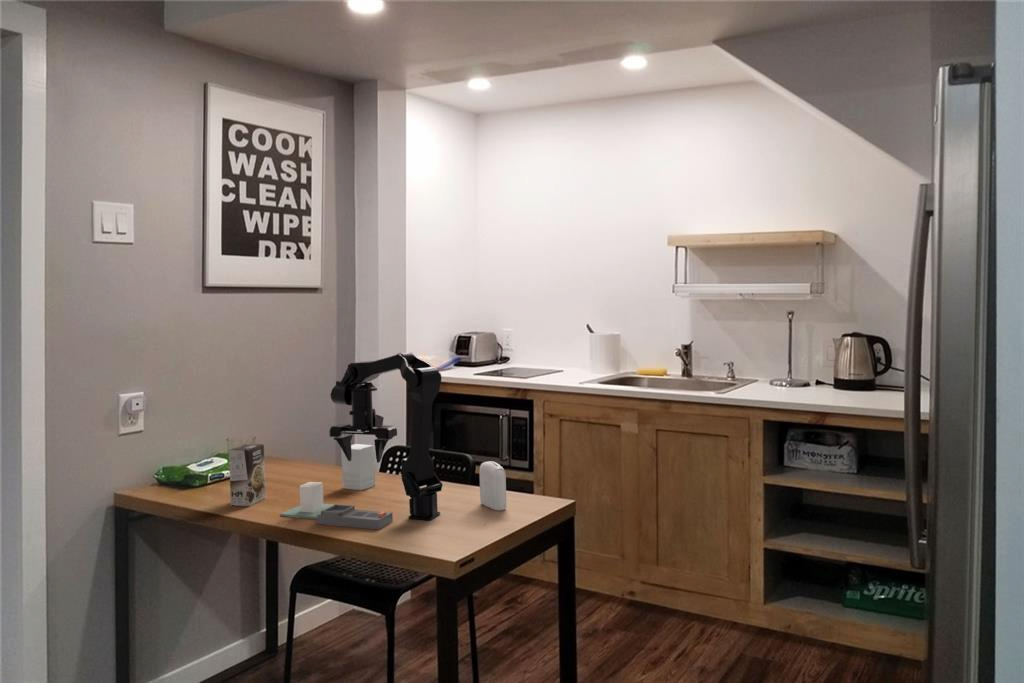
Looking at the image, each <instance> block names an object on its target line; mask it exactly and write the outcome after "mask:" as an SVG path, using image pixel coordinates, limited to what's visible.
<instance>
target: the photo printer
mask: <svg viewBox="0 0 1024 683" xmlns="http://www.w3.org/2000/svg"><path fill="white" fill-rule="evenodd" d="M478 470H479V471H478V472H479V498H480V503H481V505H483V506H485V507H487V508H489V509H492V510H494V511H504V510H506V509H507V482H506V481H507V478H506V471H505V469H504V468H503V466H501V465H500V464H499V463H497V462H496V461H493V460H492V461H491V460H490V461H489V460H488V461H484V462H482V463H481V464H480V466H479V469H478Z"/></svg>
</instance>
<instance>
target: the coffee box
mask: <svg viewBox="0 0 1024 683" xmlns="http://www.w3.org/2000/svg"><path fill="white" fill-rule="evenodd" d="M228 457H229V458H228V459H229V460H228V461H229V487H230V506H232V505H234V507H235V506H237V507H238V506H239V507H252V506H253V505H256V504H257V503H260V502H261V500H262V501H264V500H266V499H267V493H266V492H267V490H266V467H265V466H266V465H265V444H260V443H259V444H258V443H257V444H256V443H254V444H251V443H250V444H243V445H239V446H236V447H234V448H230V449H229V450H228ZM263 499H264V500H263ZM259 501H260V502H259Z"/></svg>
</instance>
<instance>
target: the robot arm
mask: <svg viewBox="0 0 1024 683" xmlns="http://www.w3.org/2000/svg"><path fill="white" fill-rule="evenodd" d="M396 370H397V371H398V370H399V371H400V375H401V378H402V379H403V380H405V382H407V384H408V386H407V387H408V392H409V394H410V395H409V396H410V397H411V399H412V400H413V403H412V404H413V407H412V421H411V422H412V423H411V436H410V451H409V455H408V457H405V458H402V459H401V463H400V464H401V468H400V469H401V470H400V474H399V475H401V481H402V484H403V488H404V491H405V496H407V497H410V499H409V503H408V504H409V515H408V519H413V520H424V521H425V520H426V521H431V520H433V519H435V518H436V517H438V516H439V515H441V511H438V492H441V491H442V489H443V482H442V481H441V480H440V479H439V477H438V475H437V474H436V472H435V467H434V466H435V464H434V461H433V460H432V457H431V456H430V445H431V444H430V443H431V433H432V432H431V430H432V418H433V415H432V414H433V405H434V404H433V402H434V401H435V399H436V397H437V395H438V394H439V392H440V388H441V383H442V374H441V372H440V371H439V370H438V368H436V367H435V366H433V365H432V364H431V363H429V362H427V361H426V360H424V359H422V358H420V357H418V356H417V355H416V354H414V352H410V351H409V352H407V351H406V352H399V353H397V354H395V355H394V354H393V355H392V356H388V357H385V358H380V359H377V360H368V361H359V362H350V363H349V364H348V365H347V368H346V370H345V373H344V374H343V376H342V379H341V380H336V381H335V385H334V386H333V388H332V389H331V391H330V400H331V401H332V402H333V404H336V405H343V406H351V410H350V411H349V412H348V413H349V416H351V418H352V419H351V421H352V424H349V423H345V424H344V423H338V424H335V425H332V426H331V427H330V428H329V432H328V434H329V435H328V436H329V437H330V438H331V437H333V440H334V441H336V442H337V444H338V445H339V447H340V449H341V448H342V450H343V452H344V454H345V456H346V458H347V459H348V461H351V458H352V453H351V445H352V439H353V435H363V436H365V435H366V436H367V435H369V436H374V437H376V439H373V440H374V452H375V458H376V463H378V464H379V463H380V462H381V461H382V457H383V455H384V451H385V448H386V446H387V443H388V441H389V440H392V439H394V437H397V436H398V430H397V428H396V426H395V425H383V424H384V418H385V417H384V416H381V415H379V414H377V413H376V409H375V408H373V392H374V391H377V390H378V387H376V385H374V384H373V383H372V382H371V381H373V380H376V379H378V378H379V376H381V375H383V374H386V373H390V372H393V371H396Z"/></svg>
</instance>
